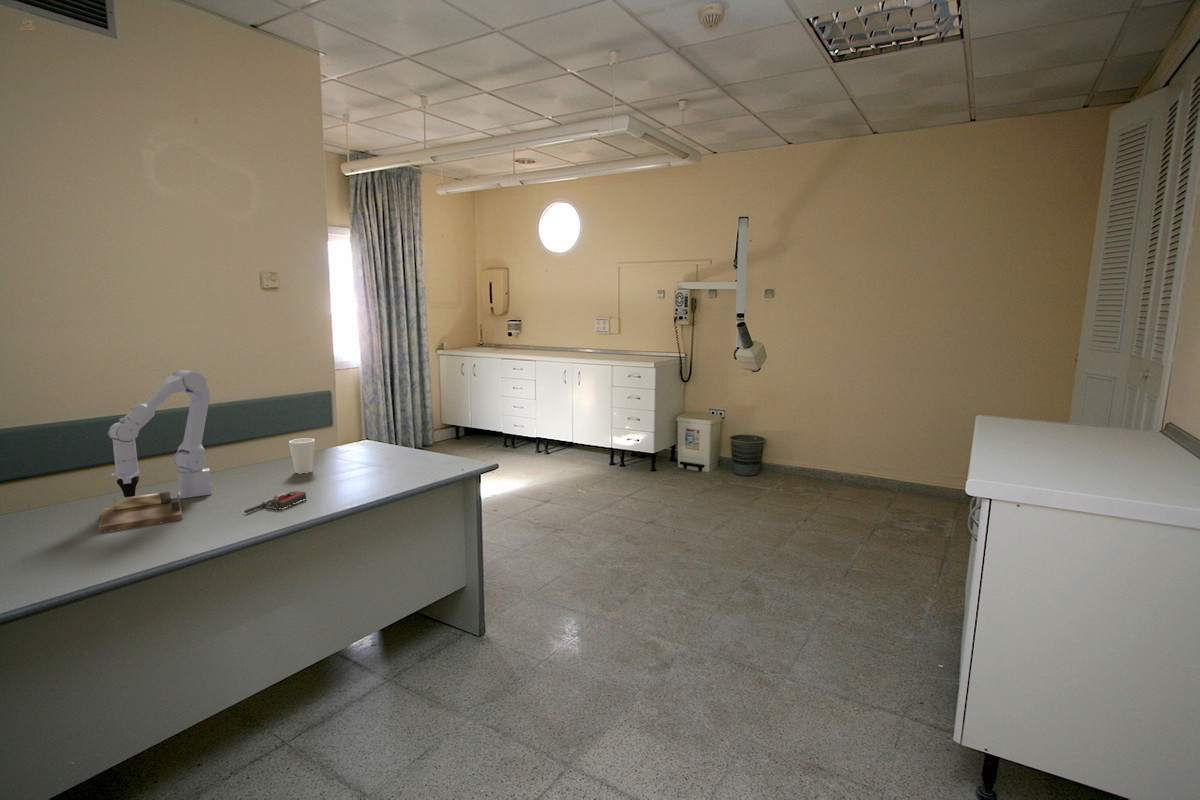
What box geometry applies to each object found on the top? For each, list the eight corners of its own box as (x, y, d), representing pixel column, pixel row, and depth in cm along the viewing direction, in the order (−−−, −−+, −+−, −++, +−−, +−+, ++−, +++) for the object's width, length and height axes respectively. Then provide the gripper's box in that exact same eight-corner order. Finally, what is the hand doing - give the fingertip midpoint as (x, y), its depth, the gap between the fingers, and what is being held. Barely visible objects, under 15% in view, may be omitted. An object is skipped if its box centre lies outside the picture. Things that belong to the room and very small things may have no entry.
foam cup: (309, 475, 236) (307, 443, 234) (286, 474, 236) (284, 443, 234) (320, 469, 246) (319, 438, 244) (298, 468, 246) (296, 437, 244)
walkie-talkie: (290, 497, 210) (242, 515, 191) (289, 485, 209) (241, 502, 190) (310, 499, 208) (264, 518, 189) (309, 487, 207) (263, 505, 188)
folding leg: (170, 499, 197) (169, 491, 197) (171, 502, 195) (170, 493, 194) (114, 507, 188) (113, 498, 188) (113, 510, 186) (112, 501, 186)
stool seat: (179, 502, 201) (178, 488, 200) (182, 519, 185) (181, 504, 184) (103, 513, 189) (101, 499, 188) (99, 532, 173) (97, 517, 172)
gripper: (111, 456, 194) (115, 496, 196) (108, 465, 183) (113, 508, 185) (138, 453, 198) (142, 492, 201) (137, 462, 187) (141, 504, 189)
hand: (130, 499), depth 193 cm, fingers closed
